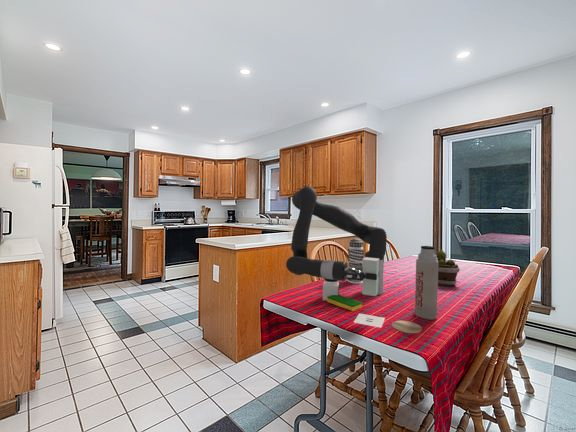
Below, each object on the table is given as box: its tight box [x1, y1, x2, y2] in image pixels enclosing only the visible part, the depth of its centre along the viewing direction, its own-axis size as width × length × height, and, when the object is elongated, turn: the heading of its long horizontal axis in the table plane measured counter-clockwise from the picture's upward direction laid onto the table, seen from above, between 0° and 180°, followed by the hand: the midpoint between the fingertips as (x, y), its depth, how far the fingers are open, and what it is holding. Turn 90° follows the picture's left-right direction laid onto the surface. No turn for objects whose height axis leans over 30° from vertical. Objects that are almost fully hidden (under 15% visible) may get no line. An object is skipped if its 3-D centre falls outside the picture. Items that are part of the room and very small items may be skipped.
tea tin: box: [361, 256, 379, 297], centre depth 107 cm, size 5×5×13 cm
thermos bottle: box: [414, 245, 439, 320], centre depth 113 cm, size 8×8×28 cm
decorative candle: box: [347, 237, 365, 285], centre depth 164 cm, size 9×9×25 cm
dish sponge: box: [326, 294, 363, 312], centre depth 125 cm, size 7×14×2 cm, turn 43°
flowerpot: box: [435, 249, 460, 287], centre depth 161 cm, size 14×15×20 cm
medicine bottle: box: [322, 278, 340, 302], centre depth 133 cm, size 7×7×12 cm
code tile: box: [353, 312, 386, 328], centre depth 108 cm, size 10×10×1 cm
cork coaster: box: [391, 320, 423, 334], centre depth 102 cm, size 10×10×1 cm
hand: (377, 275), depth 106 cm, fingers closed on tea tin, 5 cm apart
